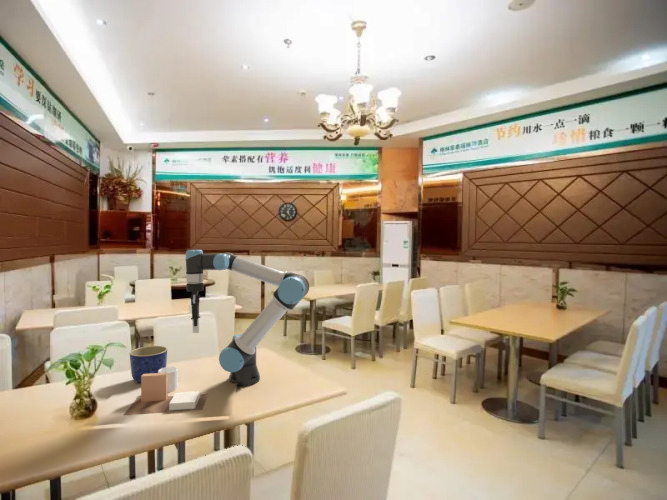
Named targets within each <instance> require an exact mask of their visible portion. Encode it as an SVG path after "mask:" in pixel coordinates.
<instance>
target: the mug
mask: <svg viewBox="0 0 667 500" xmlns="http://www.w3.org/2000/svg"><path fill="white" fill-rule="evenodd" d="M178 371H179V369H178V367H177V366H166V367H165V368H162V369H160V370H158V373H168V393H172V392H174V391H175V392H176V390H177V389H178V387H179V385H178V384H179V382H178V381H179V380H178V379H179V377H178V375H179V374H178Z"/></svg>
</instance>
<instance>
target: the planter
mask: <svg viewBox="0 0 667 500" xmlns="http://www.w3.org/2000/svg"><path fill="white" fill-rule="evenodd" d="M167 359H168V348H167V347H166V346H161V345H149V346H142V347H138V348H135V349H132V350H130V352H129V362H130V374H131V377H132V379H133V381H134V382H135V383H138V384H141V376H142V375H143V374H151V373H158V370H160V369H162V368H165V367H167Z"/></svg>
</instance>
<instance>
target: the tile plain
mask: <svg viewBox="0 0 667 500" xmlns="http://www.w3.org/2000/svg"><path fill="white" fill-rule="evenodd" d="M140 386H141V388H140V393H141V394H140V396H141V397H140V398H141V402H144V401H160V400H166V399H167V398H168V396H169V392H168V373H151V374H143V375H142V376H141V385H140Z"/></svg>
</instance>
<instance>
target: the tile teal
mask: <svg viewBox="0 0 667 500" xmlns="http://www.w3.org/2000/svg"><path fill="white" fill-rule="evenodd" d="M200 394H201V392H200V390H197V391H193V390H192V391H181V392H175V393H174V395H172V396H173V398H172V400H171V401H170V403H169V410H171V411H172V410H187V409H195V408H196V405H197V403H198V400H199V398H200Z"/></svg>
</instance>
